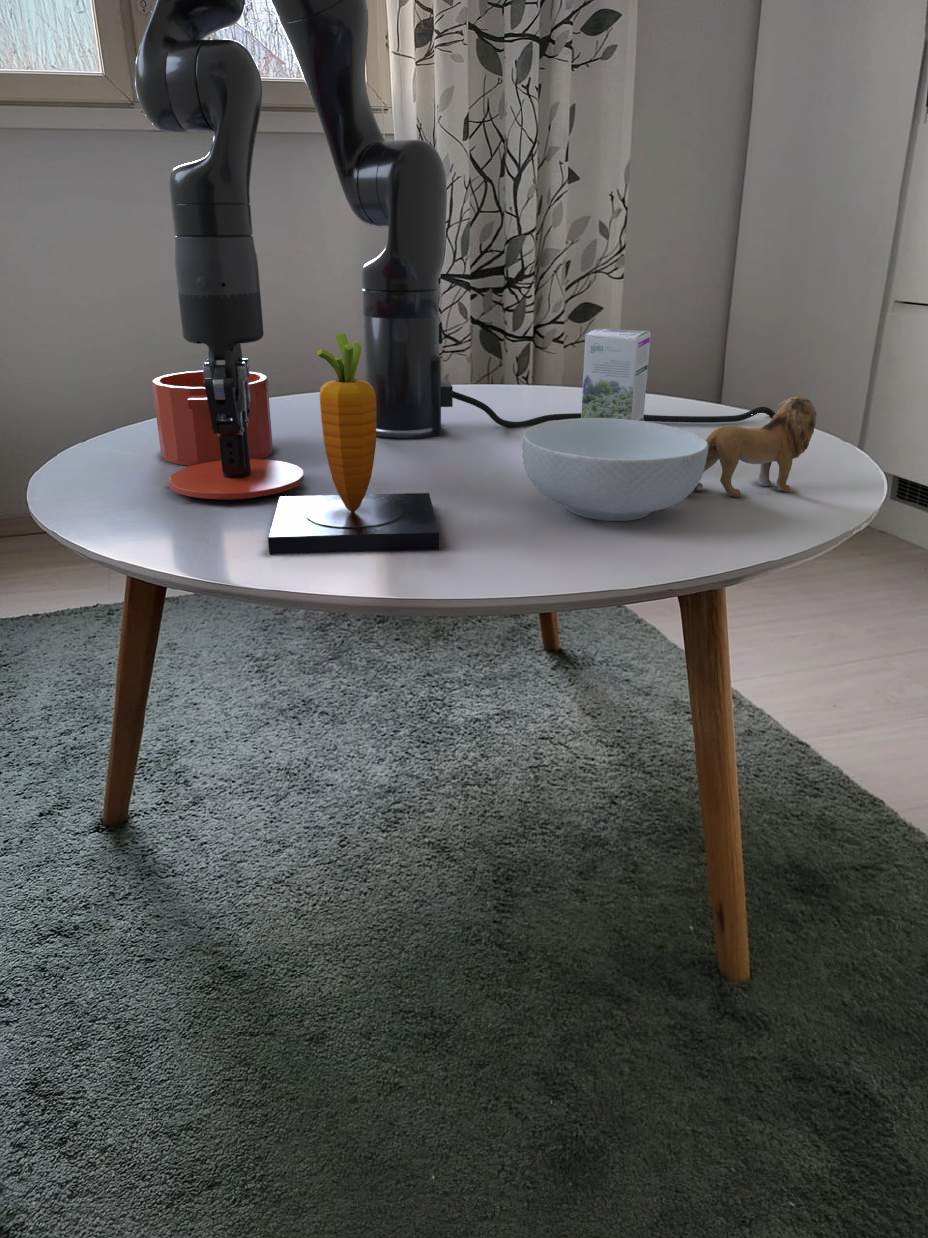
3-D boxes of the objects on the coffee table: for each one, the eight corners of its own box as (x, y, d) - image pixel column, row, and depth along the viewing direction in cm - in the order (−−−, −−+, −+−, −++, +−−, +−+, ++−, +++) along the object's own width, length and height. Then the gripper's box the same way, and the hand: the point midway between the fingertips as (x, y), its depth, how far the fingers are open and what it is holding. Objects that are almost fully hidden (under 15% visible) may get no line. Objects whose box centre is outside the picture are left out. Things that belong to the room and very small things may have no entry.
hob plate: (429, 507, 89) (429, 491, 88) (439, 549, 78) (439, 531, 77) (280, 511, 87) (279, 495, 87) (269, 554, 76) (267, 536, 76)
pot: (278, 435, 117) (272, 365, 114) (265, 471, 101) (258, 391, 97) (177, 437, 116) (168, 367, 112) (147, 473, 100) (136, 393, 96)
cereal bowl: (575, 547, 78) (580, 464, 76) (491, 496, 92) (492, 424, 90) (738, 523, 85) (748, 446, 82) (636, 479, 99) (642, 412, 96)
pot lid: (307, 468, 102) (303, 406, 99) (300, 503, 90) (296, 434, 87) (182, 471, 100) (174, 408, 98) (158, 507, 88) (148, 436, 86)
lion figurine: (782, 475, 100) (795, 391, 97) (819, 488, 96) (834, 399, 92) (672, 491, 94) (680, 401, 91) (706, 505, 90) (716, 411, 86)
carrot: (371, 522, 79) (365, 339, 73) (316, 518, 80) (305, 337, 74) (387, 505, 84) (382, 332, 78) (335, 502, 85) (326, 330, 79)
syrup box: (641, 463, 105) (652, 329, 99) (627, 475, 100) (637, 335, 94) (593, 458, 107) (600, 326, 101) (576, 469, 102) (583, 332, 96)
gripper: (252, 293, 81) (268, 486, 88) (266, 282, 94) (279, 451, 101) (163, 294, 81) (187, 488, 88) (190, 282, 93) (208, 453, 100)
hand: (236, 467), depth 94 cm, fingers closed on pot lid, 3 cm apart
